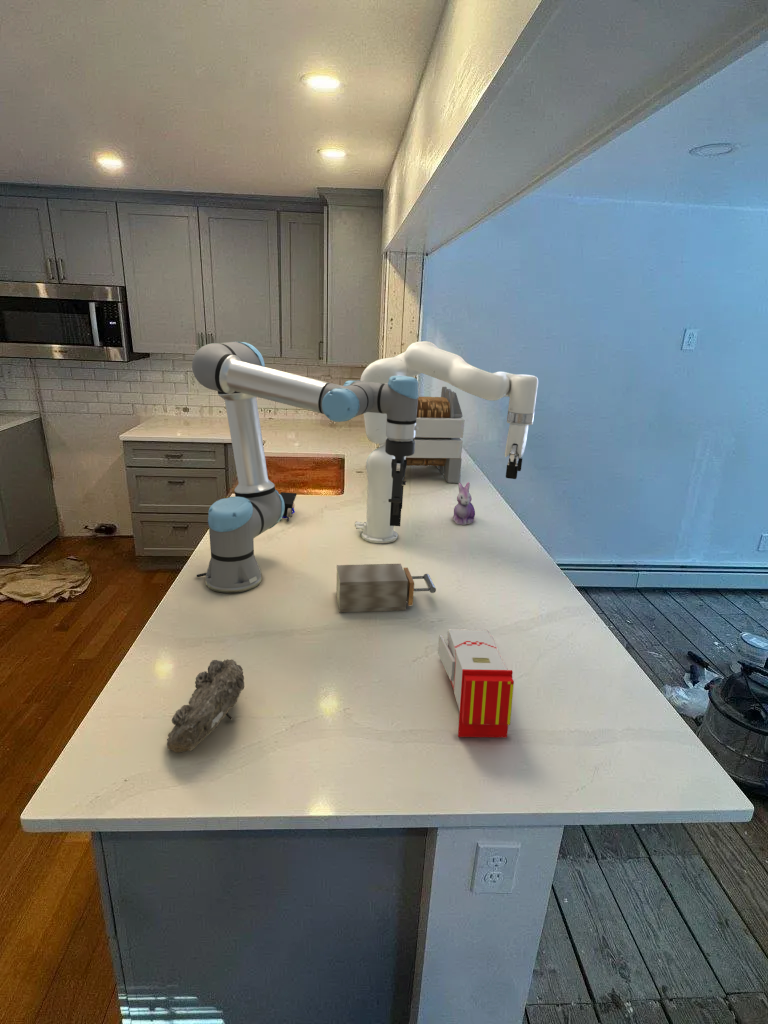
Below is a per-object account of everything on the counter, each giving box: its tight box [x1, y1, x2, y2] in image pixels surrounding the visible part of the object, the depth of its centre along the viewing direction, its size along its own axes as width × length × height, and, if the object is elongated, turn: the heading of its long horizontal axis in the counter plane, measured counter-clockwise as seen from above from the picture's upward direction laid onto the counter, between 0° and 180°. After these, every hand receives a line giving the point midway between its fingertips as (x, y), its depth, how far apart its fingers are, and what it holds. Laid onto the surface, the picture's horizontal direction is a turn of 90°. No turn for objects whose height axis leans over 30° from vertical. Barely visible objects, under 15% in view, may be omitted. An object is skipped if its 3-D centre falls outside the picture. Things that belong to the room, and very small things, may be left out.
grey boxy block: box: [335, 563, 408, 614], centre depth 152 cm, size 18×10×9 cm, turn 99°
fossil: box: [166, 658, 245, 754], centre depth 106 cm, size 22×10×15 cm
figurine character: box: [279, 492, 298, 522], centre depth 210 cm, size 7×8×15 cm
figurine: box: [452, 481, 476, 526], centre depth 212 cm, size 9×10×15 cm
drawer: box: [403, 567, 437, 607], centre depth 152 cm, size 23×9×7 cm, turn 99°
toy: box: [437, 628, 515, 738], centre depth 117 cm, size 12×13×30 cm
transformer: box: [406, 386, 465, 484], centre depth 268 cm, size 34×33×41 cm
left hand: (396, 516), depth 152 cm, fingers open, 13 cm apart
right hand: (513, 474), depth 172 cm, fingers open, 9 cm apart
